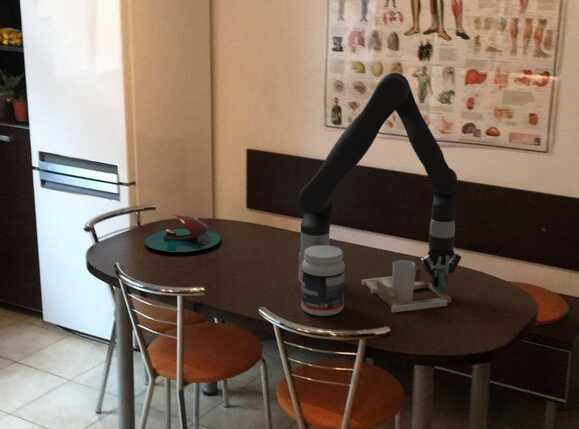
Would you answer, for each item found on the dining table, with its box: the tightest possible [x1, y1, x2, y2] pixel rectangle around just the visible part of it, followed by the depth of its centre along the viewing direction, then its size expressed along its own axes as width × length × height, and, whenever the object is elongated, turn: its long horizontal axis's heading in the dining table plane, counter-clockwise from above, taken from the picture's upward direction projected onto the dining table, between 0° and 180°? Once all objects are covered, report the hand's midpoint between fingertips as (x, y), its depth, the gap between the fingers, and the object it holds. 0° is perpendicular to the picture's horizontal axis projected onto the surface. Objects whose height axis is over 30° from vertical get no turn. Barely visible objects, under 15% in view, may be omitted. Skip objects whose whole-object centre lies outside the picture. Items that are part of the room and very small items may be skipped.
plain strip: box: [364, 265, 421, 291], centre depth 259 cm, size 17×5×5 cm, turn 107°
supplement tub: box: [300, 245, 346, 317], centre depth 238 cm, size 13×13×18 cm
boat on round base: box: [144, 214, 221, 253], centre depth 299 cm, size 28×28×11 cm
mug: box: [391, 259, 416, 303], centre depth 247 cm, size 10×7×12 cm, turn 139°
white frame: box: [374, 266, 452, 308], centre depth 248 cm, size 19×14×8 cm
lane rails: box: [361, 276, 448, 313], centre depth 252 cm, size 18×24×2 cm
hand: (439, 286), depth 251 cm, fingers closed on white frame, 2 cm apart
